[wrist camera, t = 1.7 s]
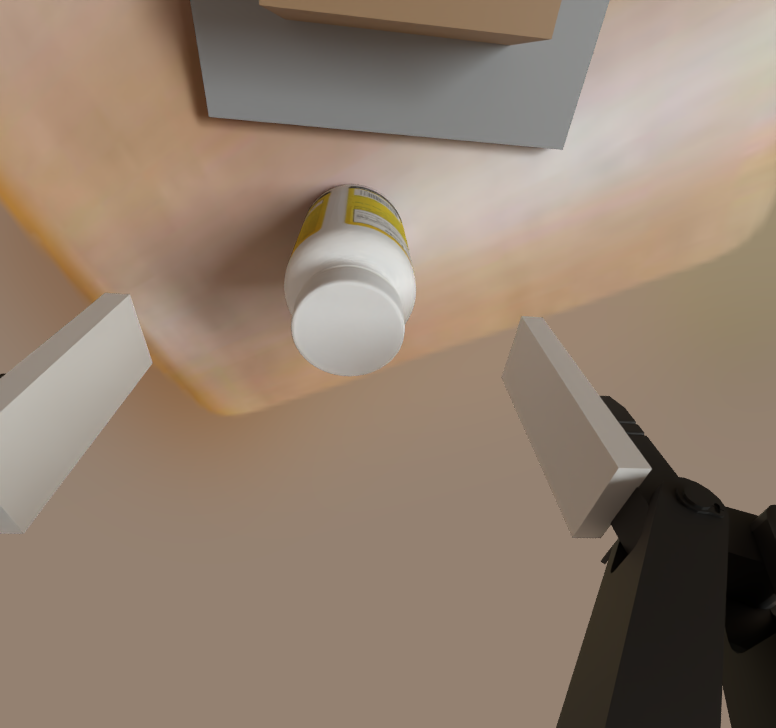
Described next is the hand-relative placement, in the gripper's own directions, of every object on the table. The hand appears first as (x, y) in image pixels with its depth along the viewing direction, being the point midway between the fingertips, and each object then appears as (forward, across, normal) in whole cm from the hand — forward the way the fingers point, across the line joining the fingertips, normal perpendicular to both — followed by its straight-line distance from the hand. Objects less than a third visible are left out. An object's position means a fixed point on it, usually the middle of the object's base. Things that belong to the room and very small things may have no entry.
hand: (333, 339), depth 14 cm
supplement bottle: (+10, 0, 0) cm, 10 cm away
